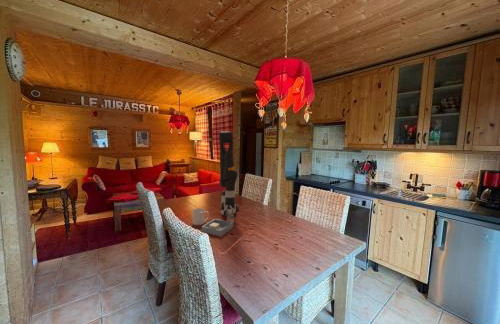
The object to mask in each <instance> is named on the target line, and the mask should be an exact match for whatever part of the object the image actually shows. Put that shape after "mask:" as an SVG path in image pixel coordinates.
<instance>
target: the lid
mask: <svg viewBox="0 0 500 324" xmlns="http://www.w3.org/2000/svg"><path fill="white" fill-rule="evenodd" d="M218 225H220V224H218V223H212V224H210V225H209V226H212V227H217V226H218Z"/></svg>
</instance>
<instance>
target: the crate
mask: <svg viewBox="0 0 500 324" xmlns="http://www.w3.org/2000/svg"><path fill="white" fill-rule="evenodd" d="M212 223H218V224H220V225H219V230H218V229H214V228H209V225H210V224H212ZM233 228H234V224H233V222H230V221H227V220H225V219H219V218H214V219H212V220H211V221H209V222H207V223H204V224H202V226H201V233H203V232H204V234H209V235H212V236H213V235H214V236H216V237H222V236H224V235H225V234H227V233H228V232H230V230H232V229H233Z"/></svg>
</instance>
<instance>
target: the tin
mask: <svg viewBox="0 0 500 324" xmlns="http://www.w3.org/2000/svg"><path fill="white" fill-rule="evenodd" d="M234 219H235V218H234V213H233V214H232V213H231V214H228V215H226V221H230V222H233V225H234V224H235V223H234Z"/></svg>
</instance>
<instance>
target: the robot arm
mask: <svg viewBox="0 0 500 324" xmlns="http://www.w3.org/2000/svg"><path fill="white" fill-rule="evenodd" d="M218 143H219V171H220V176H219V177H220V178H219V187H220V188H225V190H223V191H221V212H220V213H221V215H223V216H224V217H227V215H228V214H232V213H233V215H234V219H235V218H237V213H239V212H240V206H239V203H237V204H236V183H237V179H238V171H237V170H235V169H231V168H234V166H235V161H234V160H235V159H234V134H233V132H232V131H220V132H219V133H218ZM225 144H229V145H228V148H227V149H226V148H225V146H224V145H225Z"/></svg>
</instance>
